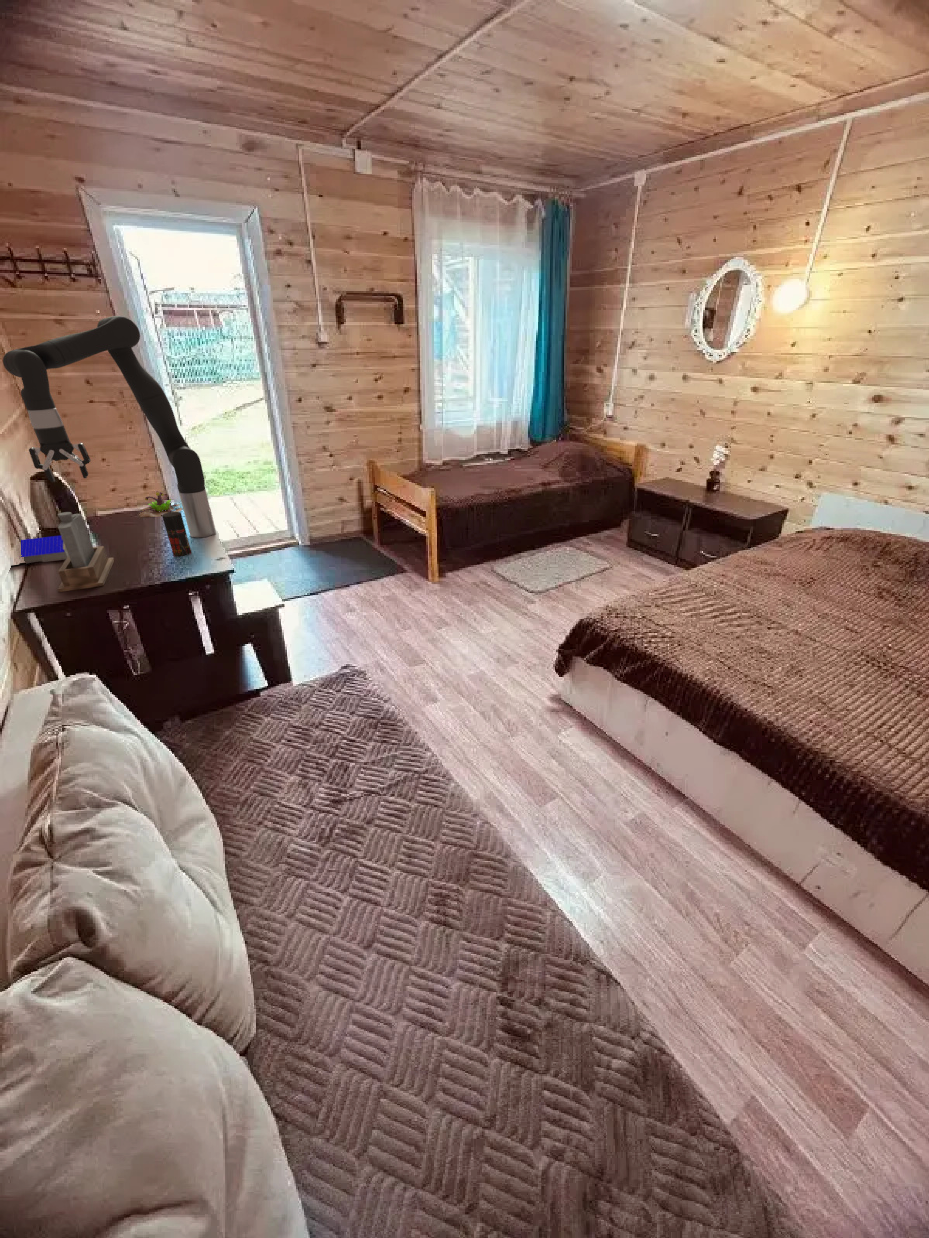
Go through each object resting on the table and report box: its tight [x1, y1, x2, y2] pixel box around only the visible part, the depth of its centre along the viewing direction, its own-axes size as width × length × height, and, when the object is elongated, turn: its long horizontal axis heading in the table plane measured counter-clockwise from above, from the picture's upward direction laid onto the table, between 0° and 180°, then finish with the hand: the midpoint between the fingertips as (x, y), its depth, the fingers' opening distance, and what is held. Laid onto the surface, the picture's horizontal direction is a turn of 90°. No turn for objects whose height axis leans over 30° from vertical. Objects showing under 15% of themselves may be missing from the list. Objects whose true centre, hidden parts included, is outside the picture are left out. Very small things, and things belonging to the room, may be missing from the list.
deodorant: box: [161, 511, 192, 558], centre depth 185 cm, size 6×6×15 cm
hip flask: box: [57, 511, 95, 568], centre depth 167 cm, size 16×4×20 cm, turn 21°
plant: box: [138, 490, 184, 518], centre depth 231 cm, size 20×20×11 cm
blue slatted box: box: [20, 535, 68, 564], centre depth 185 cm, size 22×14×7 cm, turn 112°
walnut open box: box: [57, 545, 115, 593], centre depth 171 cm, size 12×24×6 cm, turn 24°
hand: (69, 479), depth 163 cm, fingers open, 8 cm apart
